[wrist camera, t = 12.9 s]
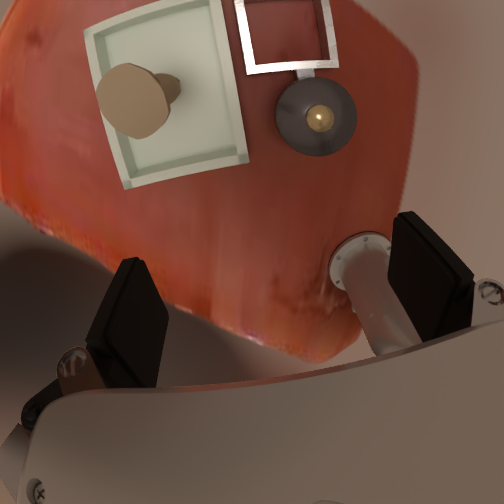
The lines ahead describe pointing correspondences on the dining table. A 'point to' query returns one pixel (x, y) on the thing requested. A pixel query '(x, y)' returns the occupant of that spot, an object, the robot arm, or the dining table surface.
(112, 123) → the handle
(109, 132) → the tray
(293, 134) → the bracket
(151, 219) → the dining table surface
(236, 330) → the dining table surface
